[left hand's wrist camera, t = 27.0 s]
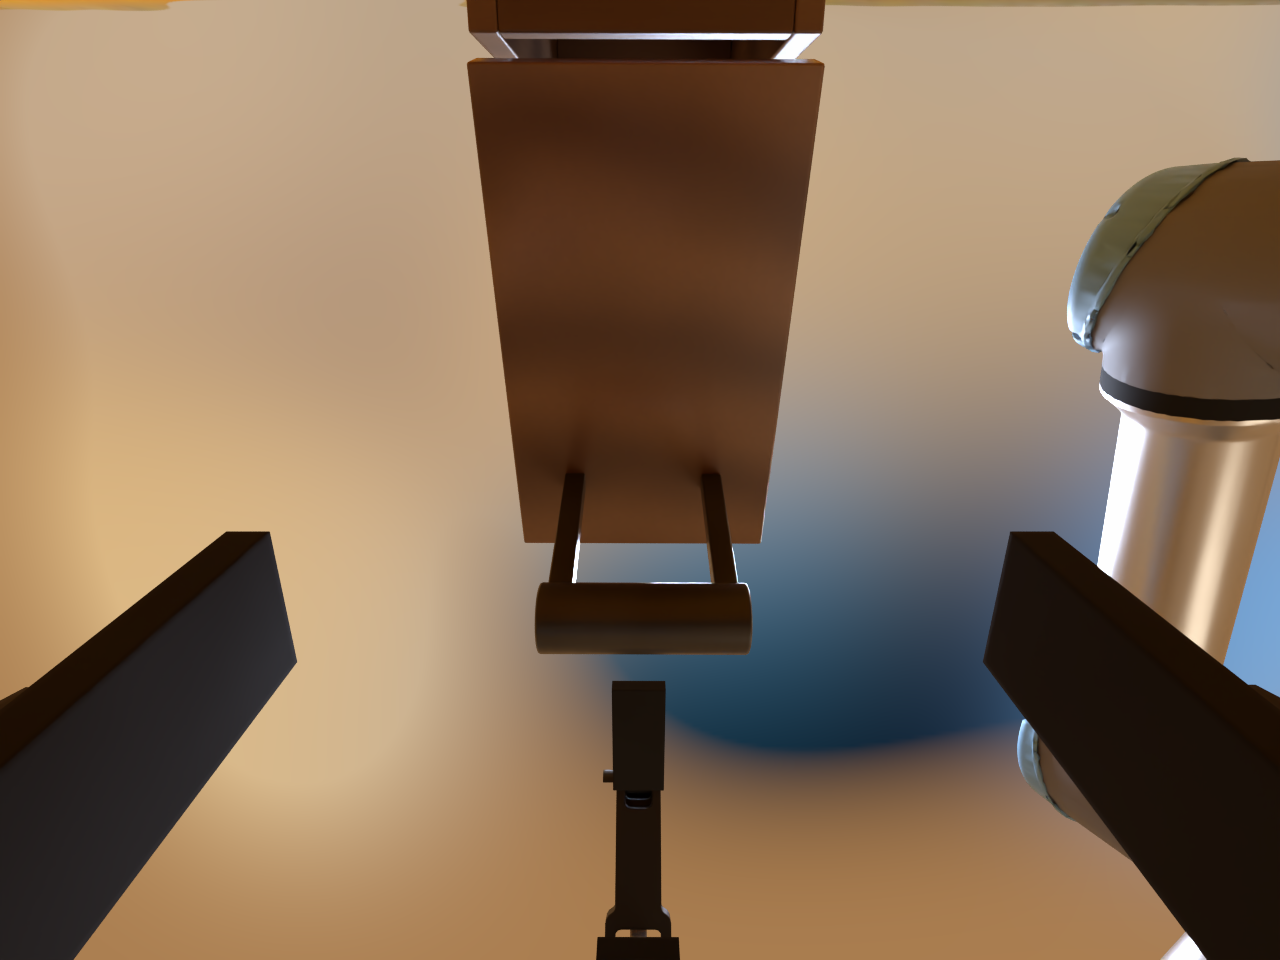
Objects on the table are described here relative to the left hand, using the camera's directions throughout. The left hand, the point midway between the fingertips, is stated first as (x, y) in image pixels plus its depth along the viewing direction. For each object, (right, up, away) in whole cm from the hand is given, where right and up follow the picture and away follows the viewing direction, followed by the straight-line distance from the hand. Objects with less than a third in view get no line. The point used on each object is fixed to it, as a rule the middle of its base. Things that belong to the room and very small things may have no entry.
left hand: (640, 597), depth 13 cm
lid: (0, +7, +10) cm, 12 cm away
